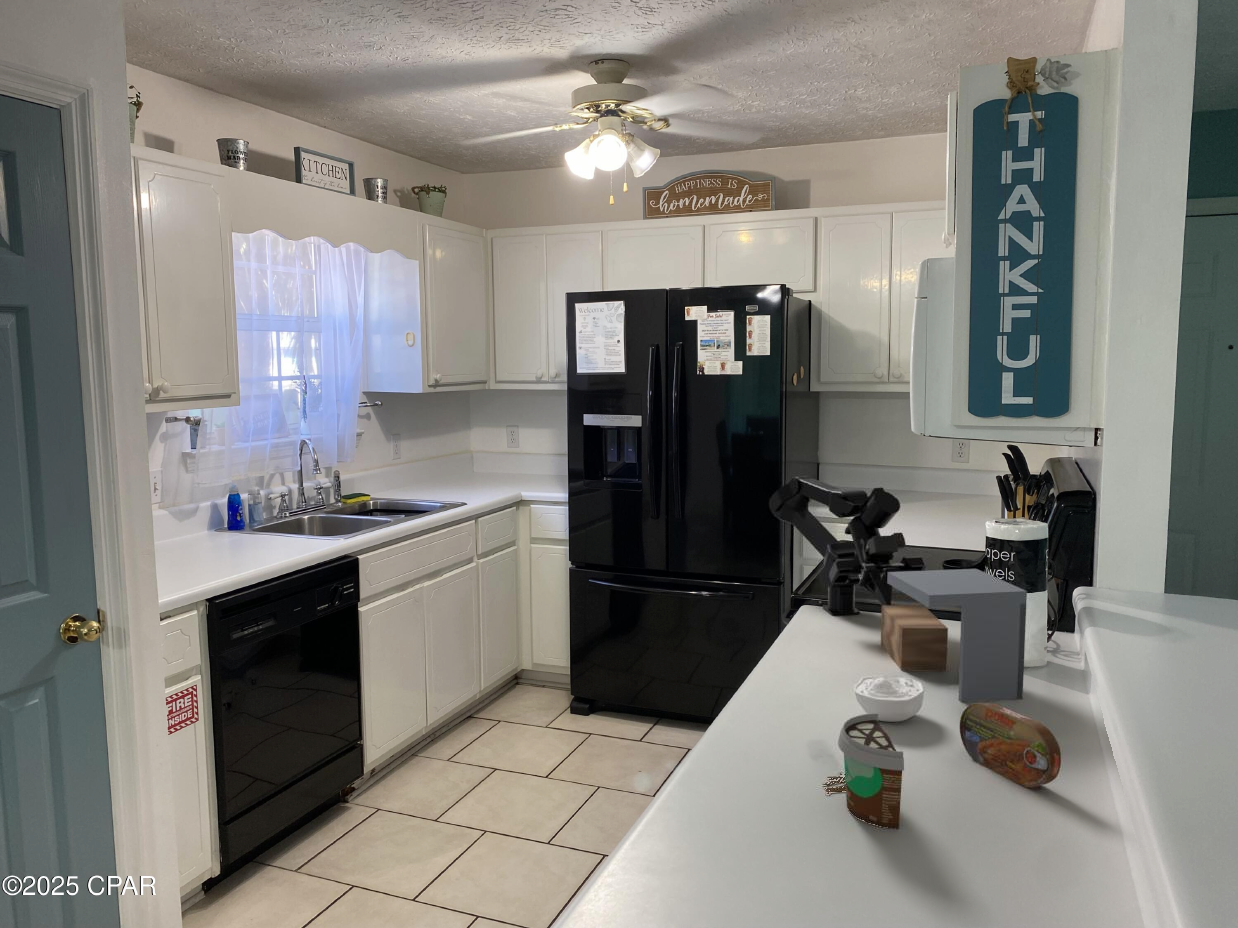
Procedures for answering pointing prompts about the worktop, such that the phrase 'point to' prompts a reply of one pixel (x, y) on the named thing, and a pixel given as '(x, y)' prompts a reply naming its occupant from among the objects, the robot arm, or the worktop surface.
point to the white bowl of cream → (889, 697)
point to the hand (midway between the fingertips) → (888, 606)
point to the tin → (1010, 744)
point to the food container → (871, 771)
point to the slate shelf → (978, 627)
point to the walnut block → (914, 638)
